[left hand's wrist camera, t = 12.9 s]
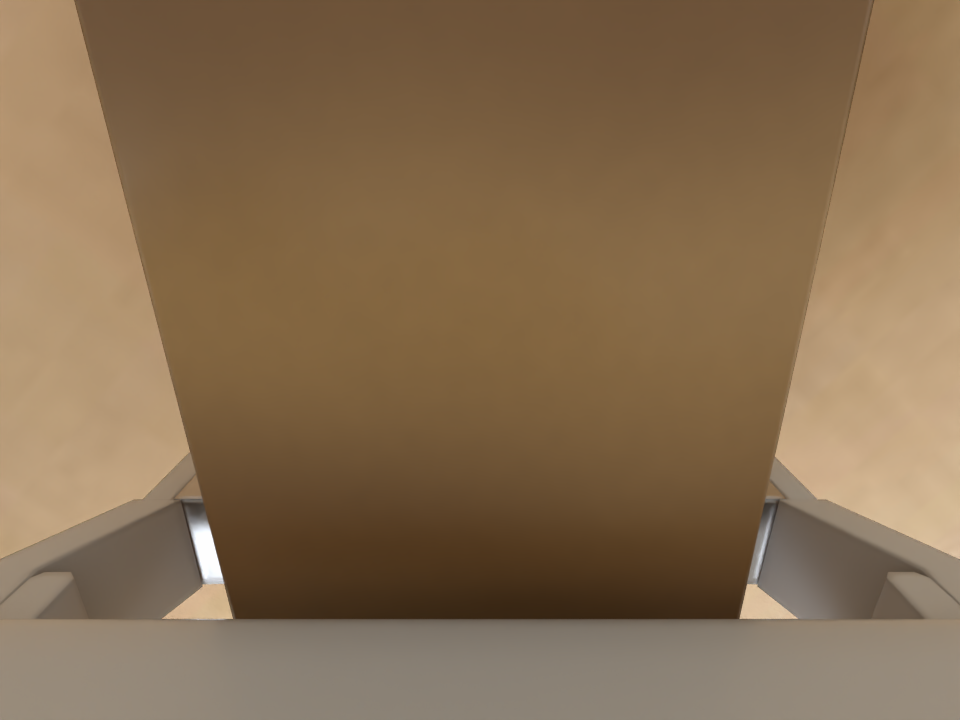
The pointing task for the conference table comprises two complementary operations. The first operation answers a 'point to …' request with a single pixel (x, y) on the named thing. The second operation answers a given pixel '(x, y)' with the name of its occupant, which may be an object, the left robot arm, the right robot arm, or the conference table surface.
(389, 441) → the box
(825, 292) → the conference table surface
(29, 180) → the conference table surface
